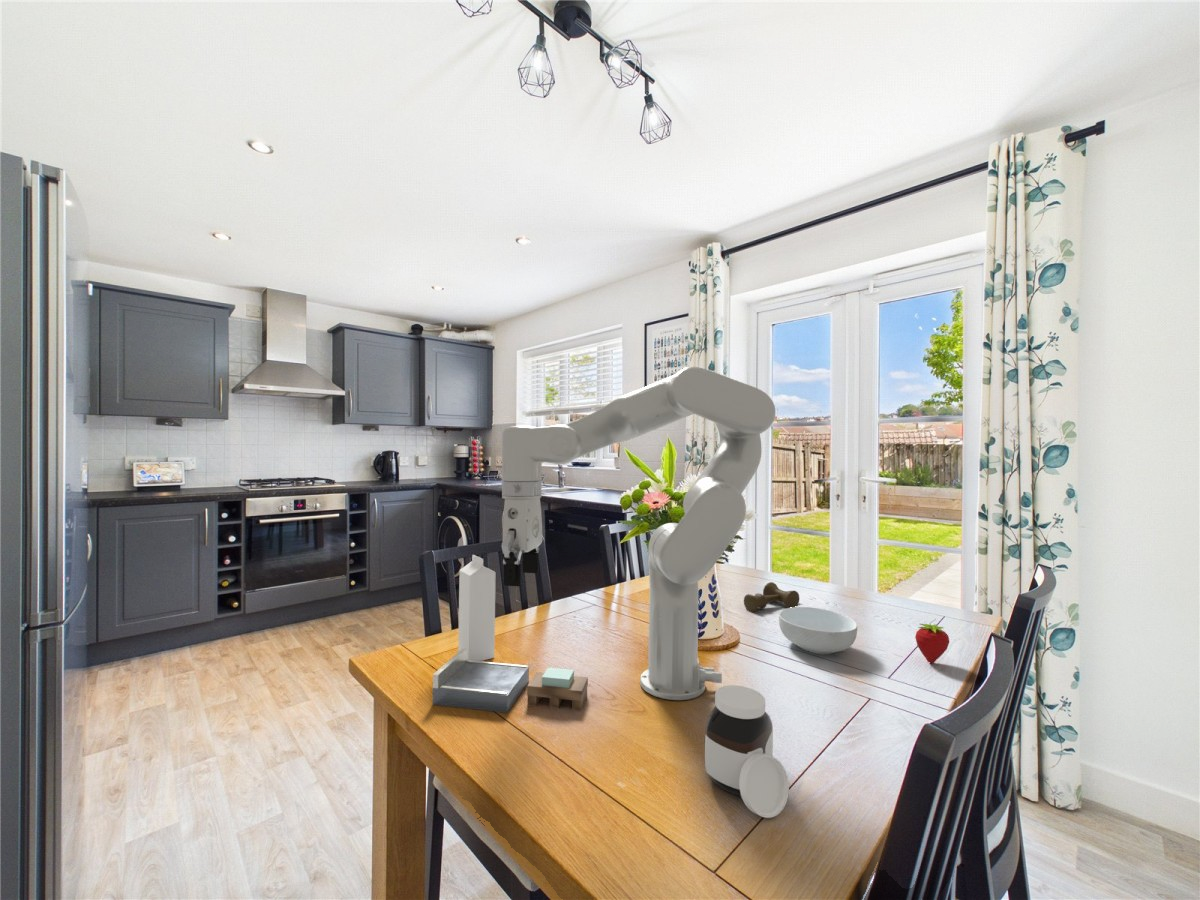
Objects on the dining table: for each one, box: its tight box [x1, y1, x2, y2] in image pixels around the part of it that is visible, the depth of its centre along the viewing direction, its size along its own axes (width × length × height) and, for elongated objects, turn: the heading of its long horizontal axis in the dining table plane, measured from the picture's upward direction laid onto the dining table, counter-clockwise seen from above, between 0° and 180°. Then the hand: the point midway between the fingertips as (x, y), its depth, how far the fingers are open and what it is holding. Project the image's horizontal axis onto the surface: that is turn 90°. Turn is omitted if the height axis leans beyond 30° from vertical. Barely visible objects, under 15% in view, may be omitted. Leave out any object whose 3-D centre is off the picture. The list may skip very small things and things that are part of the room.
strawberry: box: [914, 618, 950, 664], centre depth 110 cm, size 6×8×10 cm
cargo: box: [542, 667, 575, 688], centre depth 91 cm, size 5×4×2 cm
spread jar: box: [704, 684, 790, 819], centre depth 68 cm, size 12×11×12 cm
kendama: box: [743, 581, 800, 613], centre depth 148 cm, size 6×10×20 cm
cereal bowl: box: [778, 606, 858, 655], centre depth 117 cm, size 17×17×7 cm
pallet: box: [526, 672, 589, 712], centre depth 91 cm, size 10×6×4 cm, turn 80°
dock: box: [432, 648, 530, 714], centre depth 94 cm, size 14×12×5 cm
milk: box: [457, 554, 497, 662], centre depth 110 cm, size 6×6×22 cm
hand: (521, 578), depth 96 cm, fingers open, 9 cm apart
